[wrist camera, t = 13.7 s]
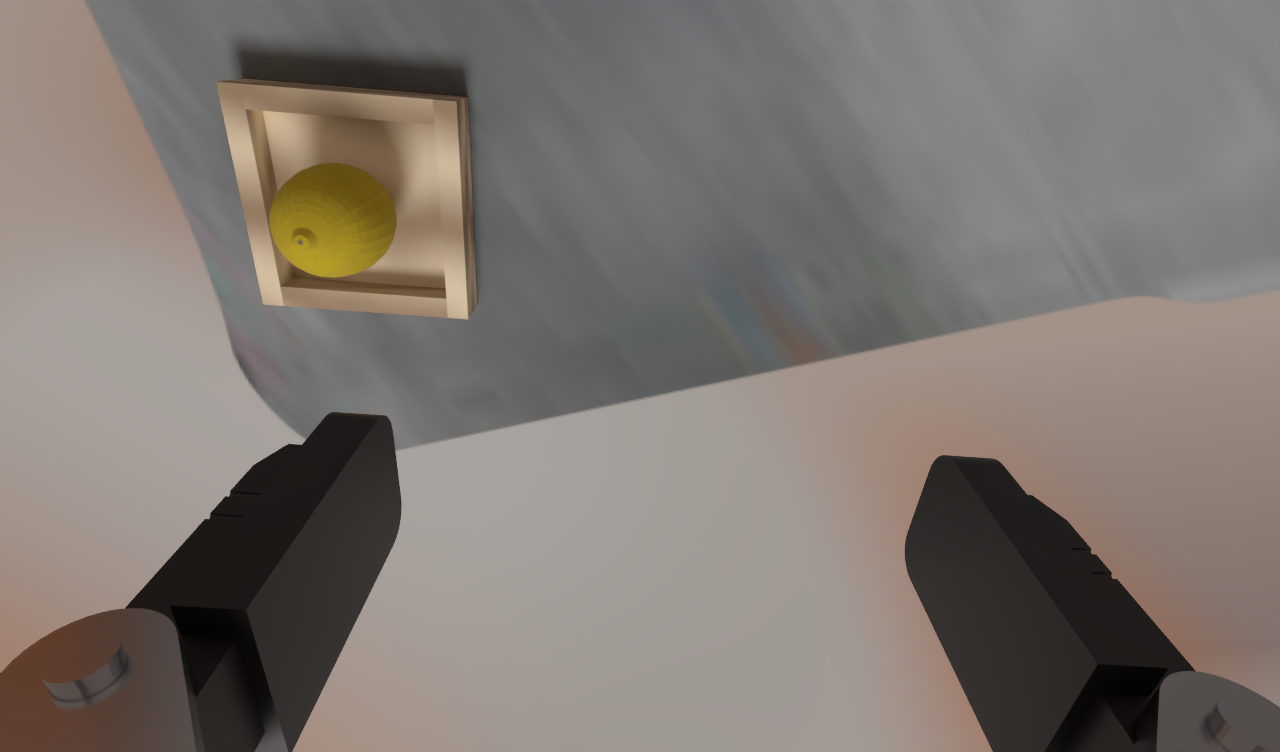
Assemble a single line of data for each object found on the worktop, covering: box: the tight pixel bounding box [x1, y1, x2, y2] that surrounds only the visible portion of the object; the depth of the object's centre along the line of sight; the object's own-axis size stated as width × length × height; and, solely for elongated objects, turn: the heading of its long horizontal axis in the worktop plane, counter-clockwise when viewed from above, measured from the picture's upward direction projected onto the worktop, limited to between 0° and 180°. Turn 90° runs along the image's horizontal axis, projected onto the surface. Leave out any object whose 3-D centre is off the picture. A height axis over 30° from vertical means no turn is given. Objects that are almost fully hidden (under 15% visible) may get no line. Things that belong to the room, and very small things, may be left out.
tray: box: [216, 78, 477, 319], centre depth 37 cm, size 12×12×2 cm
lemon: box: [269, 163, 397, 278], centre depth 33 cm, size 6×6×8 cm
